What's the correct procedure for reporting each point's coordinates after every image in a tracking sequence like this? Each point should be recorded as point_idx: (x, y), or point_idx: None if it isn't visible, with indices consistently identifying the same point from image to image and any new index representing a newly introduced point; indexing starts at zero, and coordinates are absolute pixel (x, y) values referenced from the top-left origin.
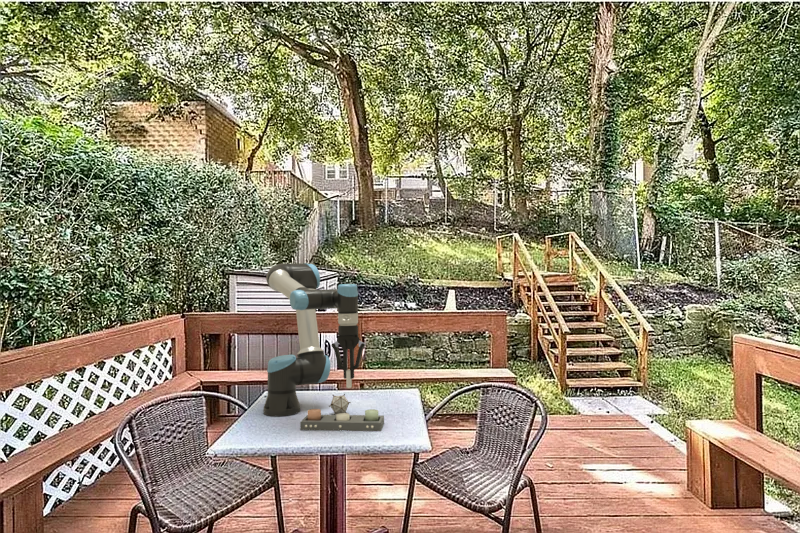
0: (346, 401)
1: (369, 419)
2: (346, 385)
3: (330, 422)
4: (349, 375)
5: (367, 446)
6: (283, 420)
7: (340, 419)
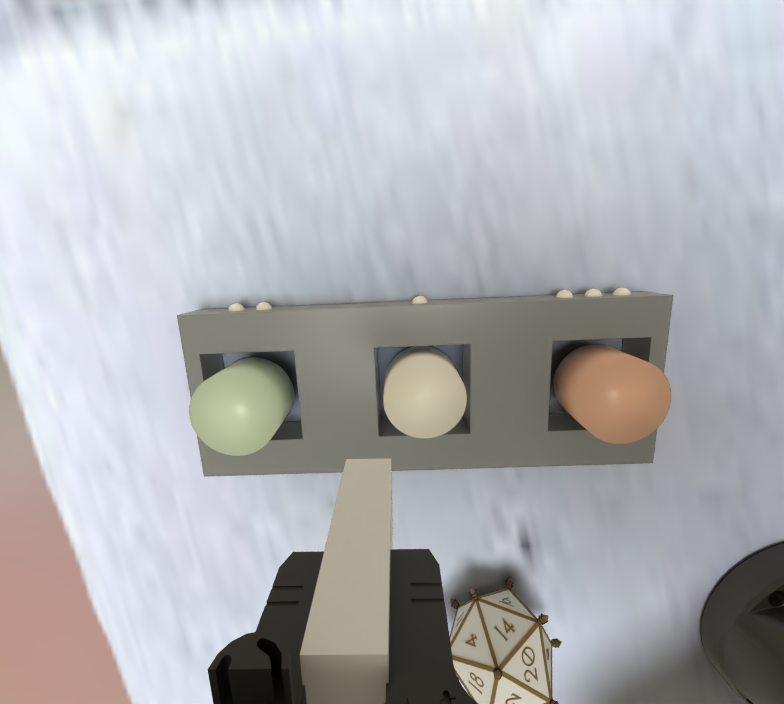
0: (459, 657)
1: (253, 361)
2: (389, 473)
3: (481, 302)
4: (330, 568)
5: None
6: (764, 471)
7: (430, 355)
